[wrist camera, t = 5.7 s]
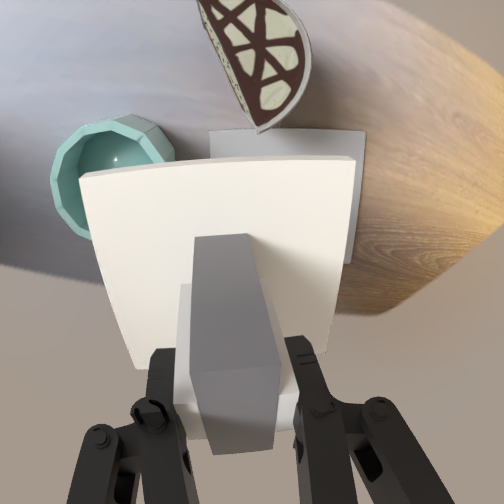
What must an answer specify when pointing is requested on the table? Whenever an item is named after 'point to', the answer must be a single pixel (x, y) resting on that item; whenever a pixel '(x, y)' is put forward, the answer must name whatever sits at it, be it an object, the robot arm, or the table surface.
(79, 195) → the bowl
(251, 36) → the food container
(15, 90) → the table surface
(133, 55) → the table surface
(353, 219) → the mat
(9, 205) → the table surface
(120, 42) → the table surface
